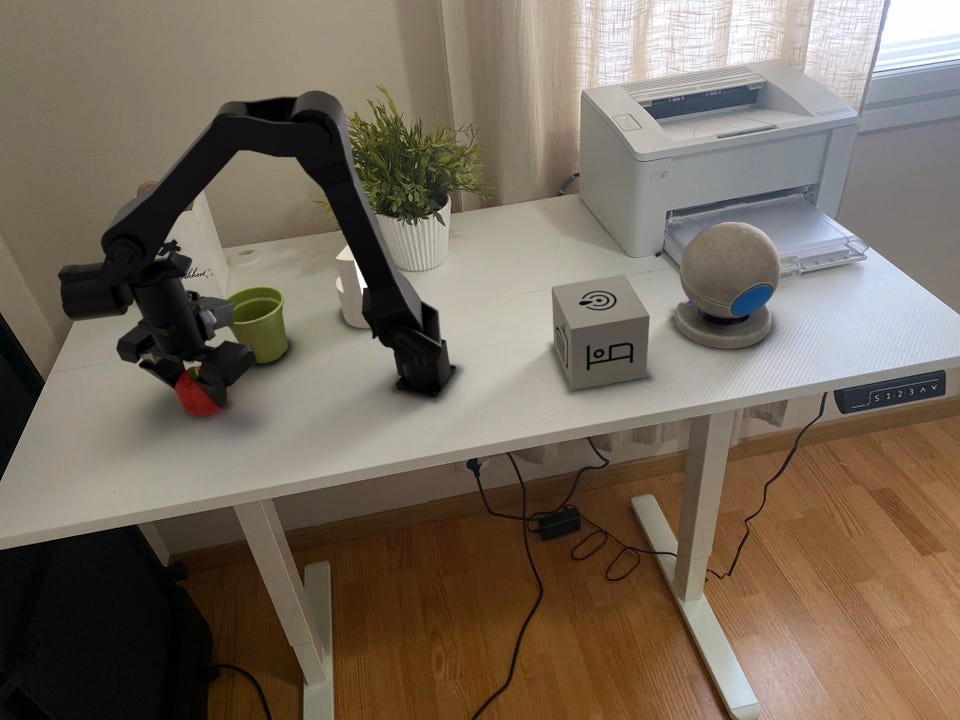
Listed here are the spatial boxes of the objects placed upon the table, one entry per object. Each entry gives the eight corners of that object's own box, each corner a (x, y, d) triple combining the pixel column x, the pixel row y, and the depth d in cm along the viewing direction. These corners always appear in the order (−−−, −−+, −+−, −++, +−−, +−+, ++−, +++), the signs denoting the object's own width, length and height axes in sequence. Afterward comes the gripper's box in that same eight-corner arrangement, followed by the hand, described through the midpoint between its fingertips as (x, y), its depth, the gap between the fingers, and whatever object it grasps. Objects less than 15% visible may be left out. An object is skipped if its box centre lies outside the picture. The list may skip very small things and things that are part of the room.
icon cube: (572, 390, 96) (570, 329, 90) (554, 345, 104) (551, 286, 98) (645, 377, 97) (649, 315, 91) (622, 333, 105) (624, 274, 99)
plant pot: (240, 379, 105) (222, 330, 99) (230, 345, 112) (212, 297, 106) (304, 358, 107) (289, 310, 102) (291, 326, 114) (276, 279, 109)
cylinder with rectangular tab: (386, 331, 111) (372, 263, 103) (334, 324, 113) (316, 257, 106) (409, 298, 117) (397, 231, 110) (359, 292, 120) (344, 227, 113)
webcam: (736, 288, 111) (750, 197, 102) (790, 334, 101) (810, 238, 92) (659, 309, 109) (666, 218, 99) (706, 359, 99) (718, 263, 90)
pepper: (237, 408, 100) (221, 370, 95) (193, 428, 97) (176, 390, 93) (222, 386, 104) (207, 348, 100) (180, 404, 101) (163, 367, 97)
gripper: (266, 283, 92) (297, 378, 102) (156, 262, 99) (194, 353, 109) (206, 334, 84) (246, 432, 94) (92, 307, 92) (139, 400, 101)
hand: (206, 401), depth 100 cm, fingers closed on pepper, 5 cm apart
